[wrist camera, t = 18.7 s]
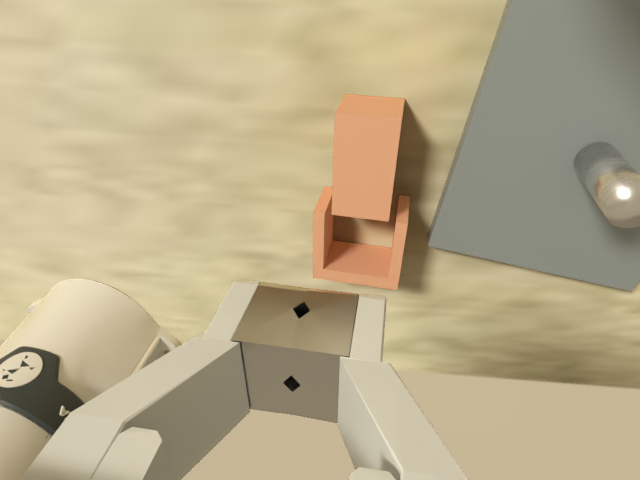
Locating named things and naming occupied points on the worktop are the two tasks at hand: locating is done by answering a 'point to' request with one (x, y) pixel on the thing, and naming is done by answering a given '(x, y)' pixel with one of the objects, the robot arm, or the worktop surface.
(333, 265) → the orange hollow block
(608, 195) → the post
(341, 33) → the worktop surface
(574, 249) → the board
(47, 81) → the worktop surface
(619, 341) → the worktop surface
